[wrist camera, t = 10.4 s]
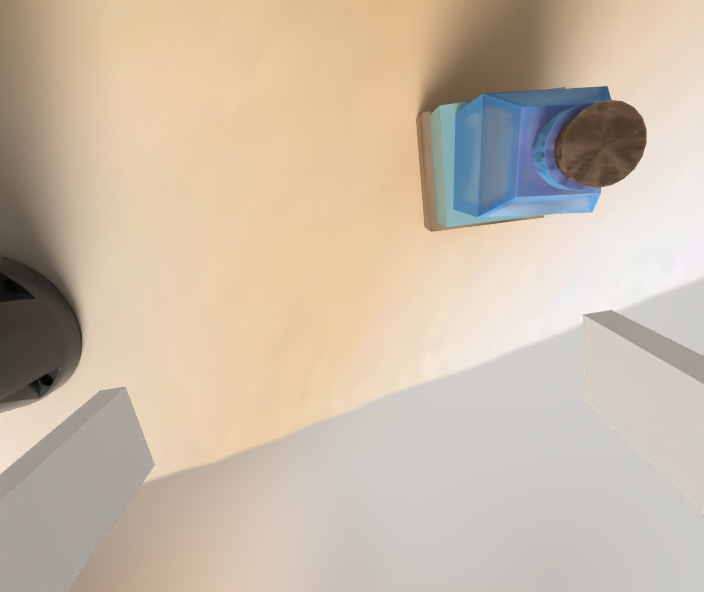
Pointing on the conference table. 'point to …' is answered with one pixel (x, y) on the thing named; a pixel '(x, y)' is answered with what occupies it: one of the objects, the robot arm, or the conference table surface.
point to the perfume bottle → (542, 151)
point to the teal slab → (451, 168)
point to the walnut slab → (428, 178)
